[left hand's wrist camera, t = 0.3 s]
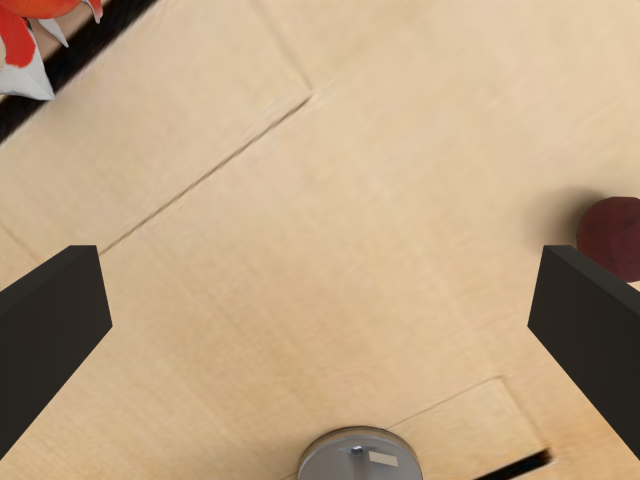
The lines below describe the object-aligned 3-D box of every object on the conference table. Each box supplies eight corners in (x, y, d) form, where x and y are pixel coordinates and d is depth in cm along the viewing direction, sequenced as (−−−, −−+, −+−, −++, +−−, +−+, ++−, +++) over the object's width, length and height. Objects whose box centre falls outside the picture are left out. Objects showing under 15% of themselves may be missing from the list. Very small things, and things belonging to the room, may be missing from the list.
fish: (170, 45, 31) (21, 15, 23) (77, 136, 40) (-56, 138, 32) (117, -92, 31) (-53, -172, 23) (35, 30, 40) (-109, 4, 32)
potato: (577, 274, 43) (623, 309, 36) (548, 213, 41) (592, 238, 34) (648, 237, 42) (710, 267, 35) (622, 172, 39) (684, 190, 33)
